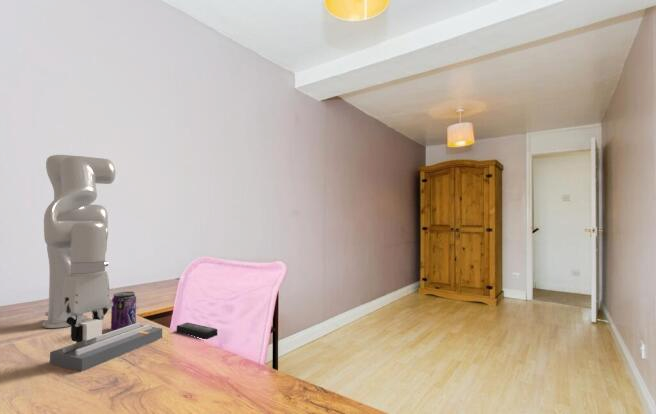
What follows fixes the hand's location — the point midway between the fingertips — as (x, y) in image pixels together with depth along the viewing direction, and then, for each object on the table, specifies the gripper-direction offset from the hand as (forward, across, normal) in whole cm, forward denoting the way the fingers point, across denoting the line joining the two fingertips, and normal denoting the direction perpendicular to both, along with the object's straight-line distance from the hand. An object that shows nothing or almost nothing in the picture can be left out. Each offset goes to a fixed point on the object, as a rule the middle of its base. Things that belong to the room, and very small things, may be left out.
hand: (86, 337), depth 88 cm
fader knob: (+3, 0, 0) cm, 3 cm away
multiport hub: (+6, -26, +13) cm, 30 cm away
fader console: (+6, -7, 0) cm, 9 cm away
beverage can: (+6, -21, -13) cm, 25 cm away
